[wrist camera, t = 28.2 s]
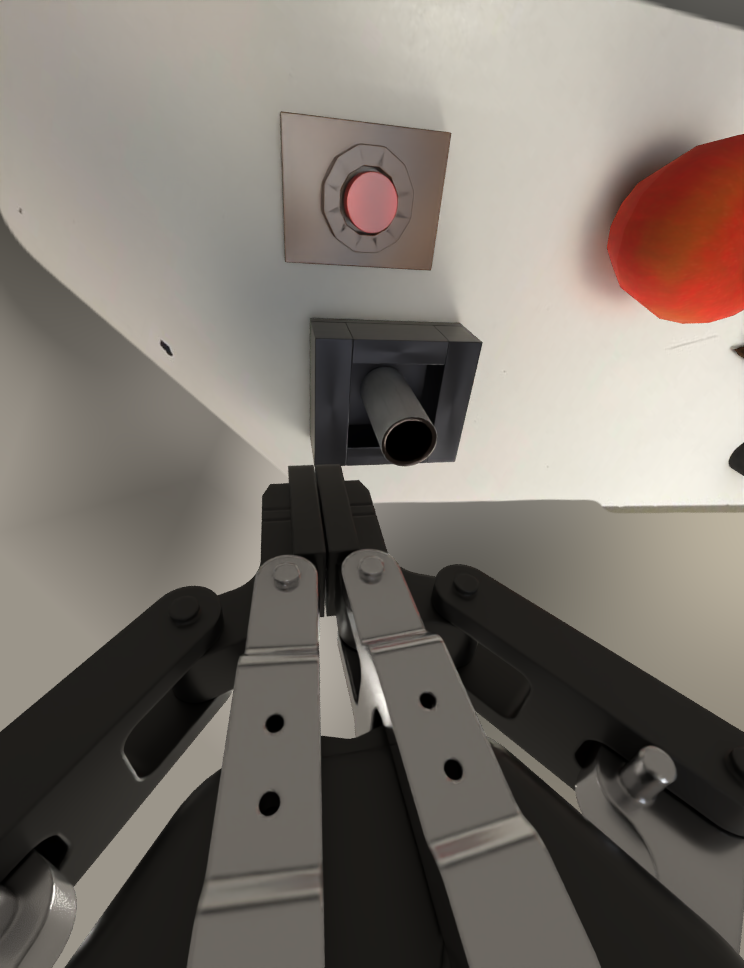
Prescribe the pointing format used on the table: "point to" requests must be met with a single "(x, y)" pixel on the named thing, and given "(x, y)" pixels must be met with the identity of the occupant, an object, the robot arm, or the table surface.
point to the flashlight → (738, 460)
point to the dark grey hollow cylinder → (397, 417)
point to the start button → (370, 201)
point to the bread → (740, 351)
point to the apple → (685, 236)
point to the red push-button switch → (326, 173)
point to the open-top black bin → (397, 344)
